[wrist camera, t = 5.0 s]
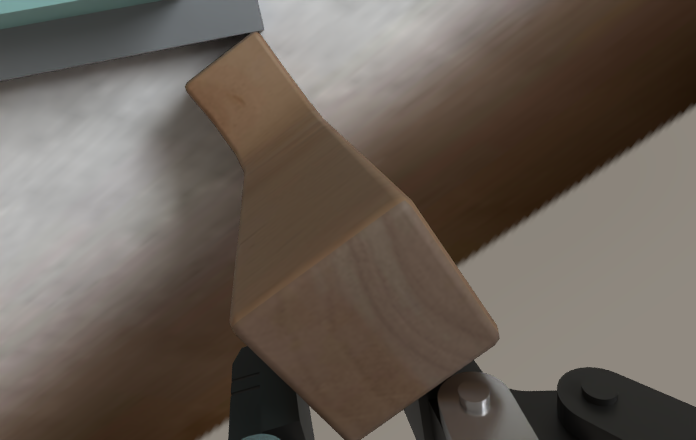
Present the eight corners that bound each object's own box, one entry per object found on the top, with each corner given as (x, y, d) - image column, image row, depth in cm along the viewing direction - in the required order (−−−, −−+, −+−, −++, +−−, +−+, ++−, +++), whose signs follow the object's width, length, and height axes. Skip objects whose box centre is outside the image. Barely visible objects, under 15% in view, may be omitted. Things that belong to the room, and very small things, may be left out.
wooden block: (345, 156, 21) (509, 342, 7) (290, 198, 22) (350, 453, 8) (256, 33, 19) (257, -30, 5) (194, 81, 19) (29, 147, 5)
